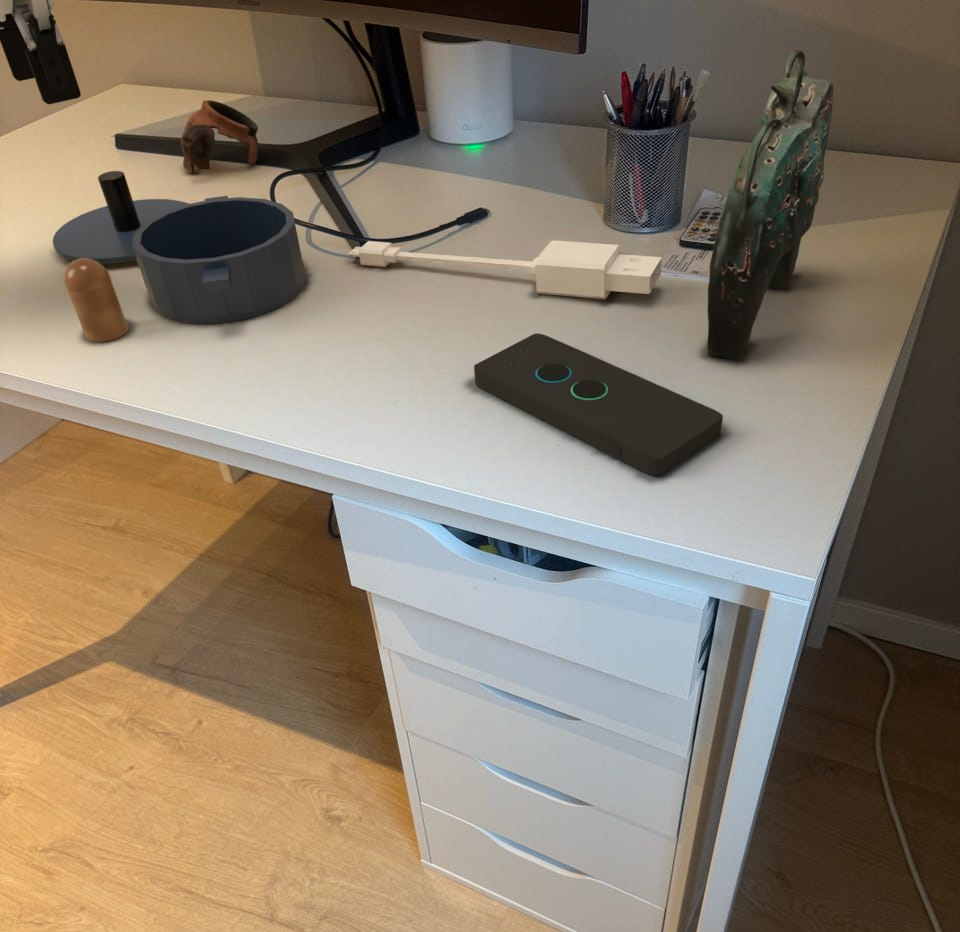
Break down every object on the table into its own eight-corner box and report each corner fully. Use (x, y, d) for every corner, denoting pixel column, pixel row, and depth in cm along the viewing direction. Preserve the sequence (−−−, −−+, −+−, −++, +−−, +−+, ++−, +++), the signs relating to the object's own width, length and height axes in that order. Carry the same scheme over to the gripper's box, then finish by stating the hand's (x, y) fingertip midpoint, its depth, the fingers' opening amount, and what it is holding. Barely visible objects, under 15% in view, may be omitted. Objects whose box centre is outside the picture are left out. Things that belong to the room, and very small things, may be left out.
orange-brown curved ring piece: (197, 156, 122) (214, 93, 118) (258, 192, 123) (278, 131, 119) (151, 162, 112) (167, 93, 108) (218, 202, 113) (238, 135, 109)
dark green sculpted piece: (750, 262, 89) (788, 22, 75) (817, 272, 87) (869, 27, 72) (684, 356, 77) (715, 93, 63) (759, 371, 75) (809, 101, 61)
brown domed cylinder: (83, 345, 85) (54, 272, 80) (88, 325, 88) (59, 254, 83) (126, 338, 86) (100, 265, 81) (129, 319, 88) (104, 247, 83)
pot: (146, 347, 84) (124, 285, 80) (157, 256, 99) (139, 200, 94) (312, 322, 86) (300, 260, 82) (299, 236, 100) (287, 180, 96)
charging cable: (366, 257, 97) (360, 226, 95) (661, 281, 86) (663, 246, 84) (344, 278, 94) (337, 245, 92) (647, 305, 83) (648, 269, 81)
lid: (47, 278, 96) (20, 214, 92) (65, 220, 108) (42, 160, 103) (204, 256, 98) (185, 192, 93) (205, 201, 109) (189, 141, 105)
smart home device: (538, 329, 79) (728, 412, 68) (539, 347, 80) (725, 432, 69) (468, 365, 75) (657, 460, 64) (470, 384, 76) (655, 479, 65)
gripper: (-114, -165, 73) (-18, 78, 85) (-70, -154, 62) (31, 120, 75) (-18, -175, 75) (61, 61, 88) (38, -166, 65) (119, 100, 77)
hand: (47, 88), depth 81 cm, fingers open, 9 cm apart
